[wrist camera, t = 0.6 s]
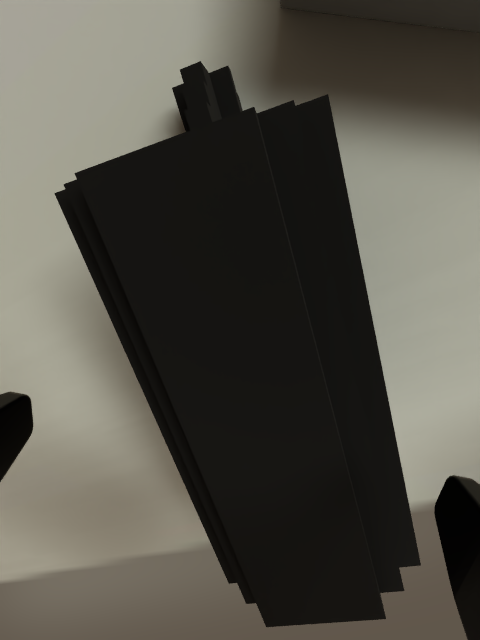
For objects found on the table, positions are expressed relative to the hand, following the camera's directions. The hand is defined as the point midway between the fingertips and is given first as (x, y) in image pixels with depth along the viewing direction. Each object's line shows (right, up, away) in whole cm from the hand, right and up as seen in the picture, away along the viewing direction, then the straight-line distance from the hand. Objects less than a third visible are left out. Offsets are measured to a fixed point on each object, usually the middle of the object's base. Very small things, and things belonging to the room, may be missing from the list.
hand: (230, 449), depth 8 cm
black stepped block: (+2, +4, +11) cm, 12 cm away
